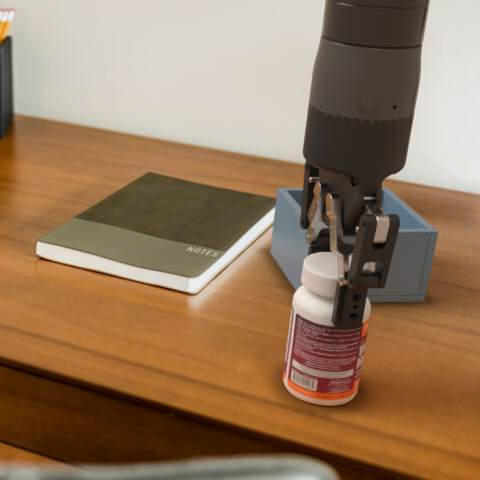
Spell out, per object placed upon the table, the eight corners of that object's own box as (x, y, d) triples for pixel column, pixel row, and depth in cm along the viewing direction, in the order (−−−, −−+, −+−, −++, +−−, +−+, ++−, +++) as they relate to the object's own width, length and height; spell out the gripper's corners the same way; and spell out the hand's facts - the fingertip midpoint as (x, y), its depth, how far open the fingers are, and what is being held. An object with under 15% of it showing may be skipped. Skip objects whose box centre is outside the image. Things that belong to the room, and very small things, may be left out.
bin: (376, 252, 102) (387, 187, 99) (424, 302, 91) (438, 231, 88) (269, 253, 101) (277, 187, 98) (304, 304, 89) (314, 232, 86)
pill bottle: (368, 407, 73) (390, 281, 68) (294, 410, 72) (312, 282, 67) (341, 367, 78) (360, 248, 74) (272, 369, 77) (287, 249, 73)
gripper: (456, 129, 59) (413, 351, 66) (373, 79, 72) (344, 268, 79) (347, 129, 58) (314, 354, 65) (283, 78, 71) (261, 269, 78)
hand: (331, 306), depth 72 cm, fingers closed on pill bottle, 6 cm apart
